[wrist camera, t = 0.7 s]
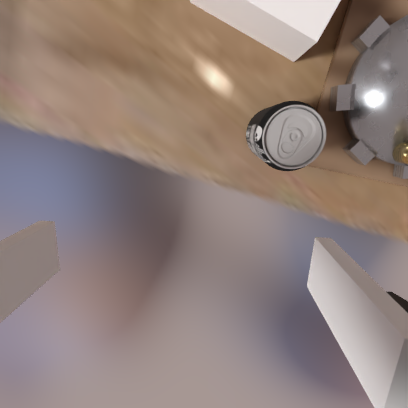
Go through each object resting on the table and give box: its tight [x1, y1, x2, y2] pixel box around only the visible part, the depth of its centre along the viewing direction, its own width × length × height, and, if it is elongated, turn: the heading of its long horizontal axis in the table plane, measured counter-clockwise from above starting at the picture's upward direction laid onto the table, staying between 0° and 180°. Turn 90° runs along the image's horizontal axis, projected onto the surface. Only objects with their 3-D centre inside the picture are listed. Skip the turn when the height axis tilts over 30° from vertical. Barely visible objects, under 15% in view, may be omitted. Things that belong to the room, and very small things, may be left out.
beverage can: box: [246, 101, 326, 171], centre depth 30 cm, size 7×7×12 cm
